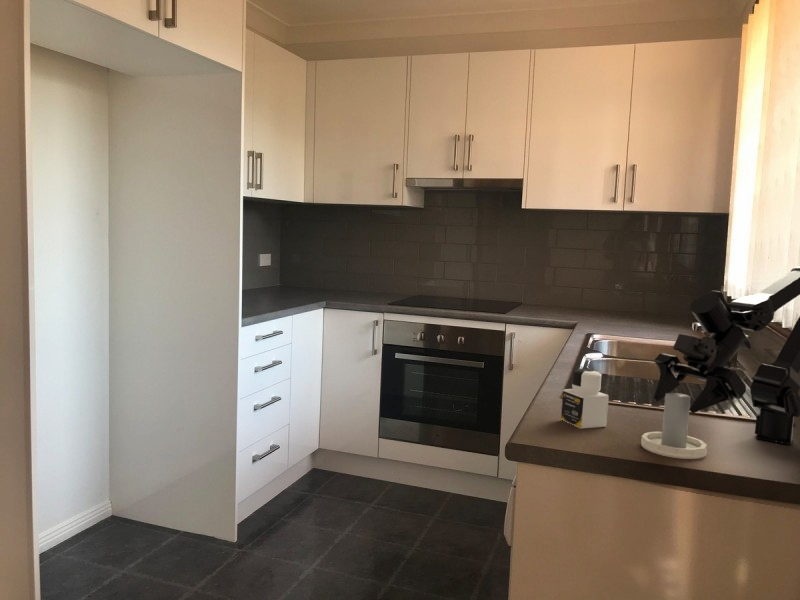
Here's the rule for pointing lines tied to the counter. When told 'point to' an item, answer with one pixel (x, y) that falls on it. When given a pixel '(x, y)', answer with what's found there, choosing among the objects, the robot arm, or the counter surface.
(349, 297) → the counter surface
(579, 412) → the medicine bottle
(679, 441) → the grey cylinder
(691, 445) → the saucer
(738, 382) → the robot arm
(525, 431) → the counter surface
